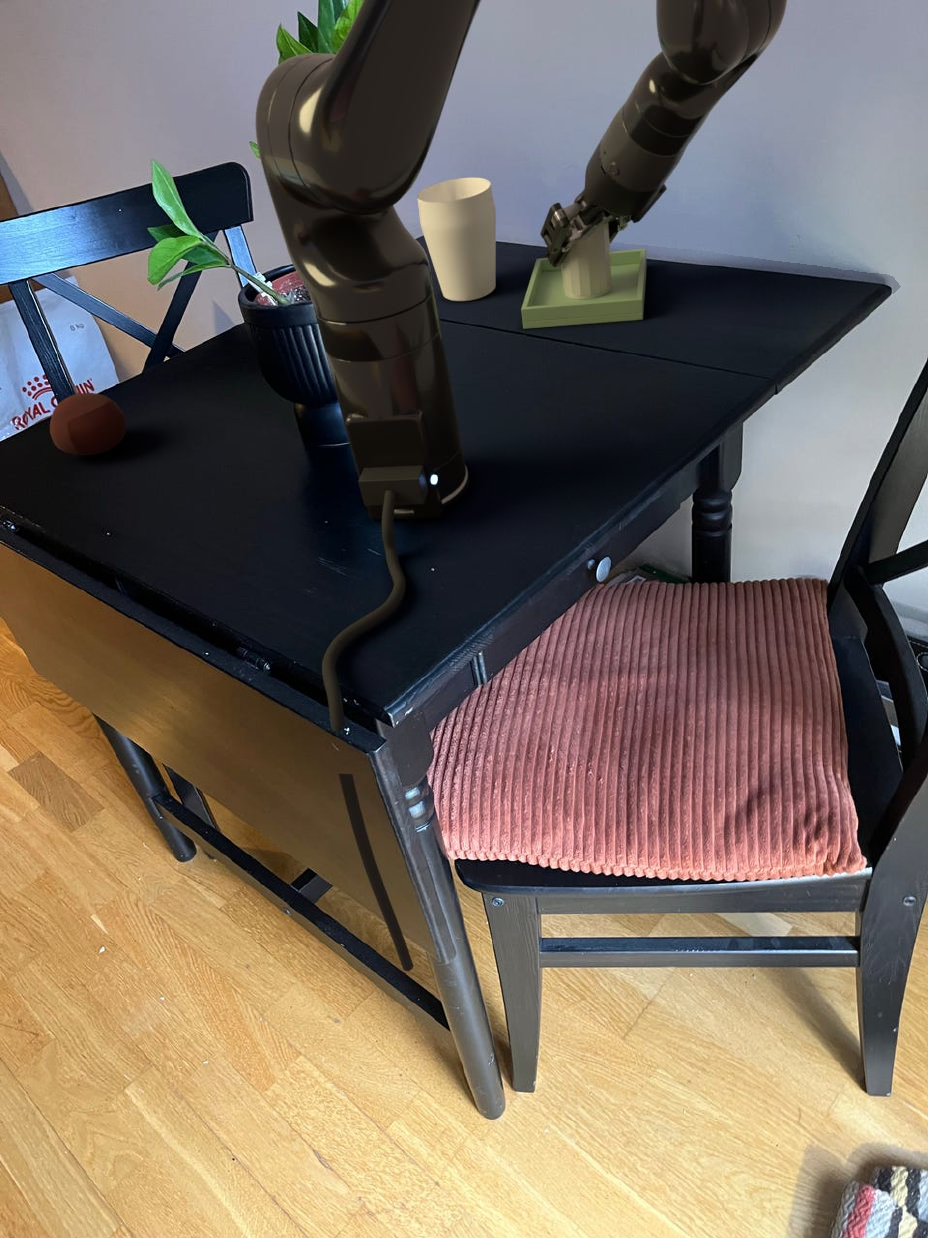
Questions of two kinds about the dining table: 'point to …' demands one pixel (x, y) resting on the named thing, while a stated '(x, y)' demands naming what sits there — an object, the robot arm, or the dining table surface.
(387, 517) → the robot arm
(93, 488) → the dining table surface
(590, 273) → the tumbler
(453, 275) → the cup
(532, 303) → the tray
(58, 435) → the potato
